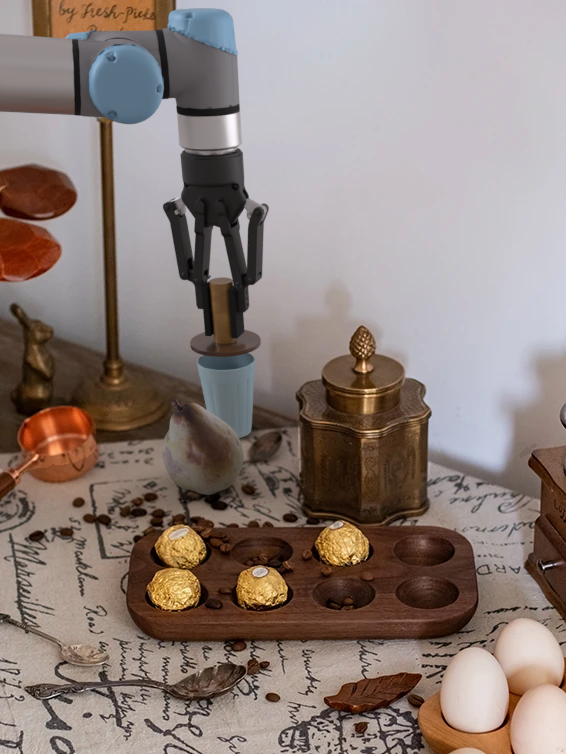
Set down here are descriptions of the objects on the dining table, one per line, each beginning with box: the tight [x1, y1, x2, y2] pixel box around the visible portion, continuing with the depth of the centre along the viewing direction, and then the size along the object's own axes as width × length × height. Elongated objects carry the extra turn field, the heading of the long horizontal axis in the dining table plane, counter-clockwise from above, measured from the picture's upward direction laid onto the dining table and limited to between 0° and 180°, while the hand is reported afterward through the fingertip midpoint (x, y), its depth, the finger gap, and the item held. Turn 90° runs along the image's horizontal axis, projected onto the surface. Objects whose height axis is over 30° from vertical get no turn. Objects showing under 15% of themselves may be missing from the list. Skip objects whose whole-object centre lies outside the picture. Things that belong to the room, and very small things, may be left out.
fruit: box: [161, 398, 245, 496], centre depth 134 cm, size 10×9×12 cm
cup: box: [196, 352, 256, 439], centre depth 149 cm, size 8×8×10 cm
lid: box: [189, 277, 262, 357], centre depth 143 cm, size 9×9×9 cm
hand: (224, 333), depth 144 cm, fingers closed on lid, 3 cm apart
